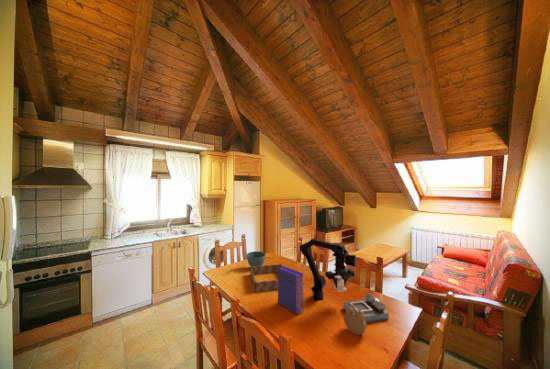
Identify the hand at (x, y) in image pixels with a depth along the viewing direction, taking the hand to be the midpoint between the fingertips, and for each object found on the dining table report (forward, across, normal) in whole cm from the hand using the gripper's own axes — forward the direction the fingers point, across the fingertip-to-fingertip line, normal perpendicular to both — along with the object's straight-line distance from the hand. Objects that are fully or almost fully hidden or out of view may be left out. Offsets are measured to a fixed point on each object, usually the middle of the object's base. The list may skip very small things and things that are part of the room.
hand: (340, 286), depth 136 cm
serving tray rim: (+12, -39, +44) cm, 60 cm away
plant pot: (+11, -45, +74) cm, 87 cm away
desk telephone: (+12, +10, -11) cm, 20 cm away
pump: (+2, 0, 0) cm, 2 cm away
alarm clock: (+13, -6, -24) cm, 28 cm away
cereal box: (+12, -33, +6) cm, 35 cm away
